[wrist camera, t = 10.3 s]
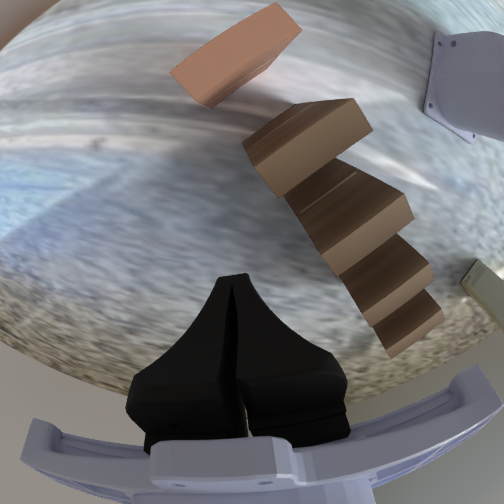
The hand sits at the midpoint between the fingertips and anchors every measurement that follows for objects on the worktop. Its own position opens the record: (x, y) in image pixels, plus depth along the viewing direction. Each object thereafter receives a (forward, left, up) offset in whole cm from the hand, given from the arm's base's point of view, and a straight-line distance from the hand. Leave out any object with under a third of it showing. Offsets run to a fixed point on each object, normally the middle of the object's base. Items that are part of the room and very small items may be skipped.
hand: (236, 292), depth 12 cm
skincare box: (+2, +34, -11) cm, 36 cm away
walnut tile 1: (+3, +13, -10) cm, 17 cm away
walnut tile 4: (-7, +2, -10) cm, 13 cm away
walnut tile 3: (-4, +6, -10) cm, 12 cm away
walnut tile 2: (0, +9, -10) cm, 14 cm away
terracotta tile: (-10, -2, -10) cm, 15 cm away
